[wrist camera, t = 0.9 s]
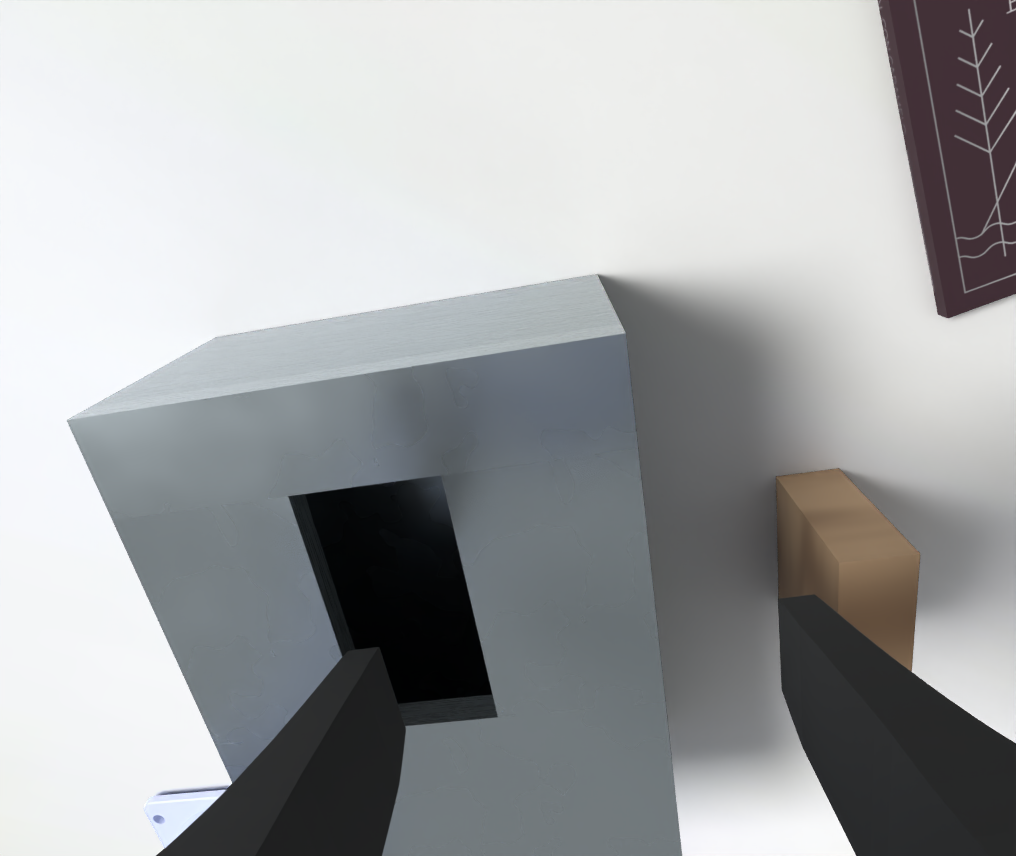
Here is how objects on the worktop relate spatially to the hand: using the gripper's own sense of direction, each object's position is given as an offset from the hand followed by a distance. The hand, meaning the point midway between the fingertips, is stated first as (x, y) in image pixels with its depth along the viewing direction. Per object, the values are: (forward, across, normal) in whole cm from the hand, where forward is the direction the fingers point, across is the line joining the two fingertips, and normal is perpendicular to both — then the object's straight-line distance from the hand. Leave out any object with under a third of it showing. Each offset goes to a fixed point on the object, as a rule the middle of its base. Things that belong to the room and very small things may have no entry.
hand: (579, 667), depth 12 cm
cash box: (+10, +4, +4) cm, 12 cm away
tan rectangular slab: (+10, -8, +5) cm, 14 cm away
